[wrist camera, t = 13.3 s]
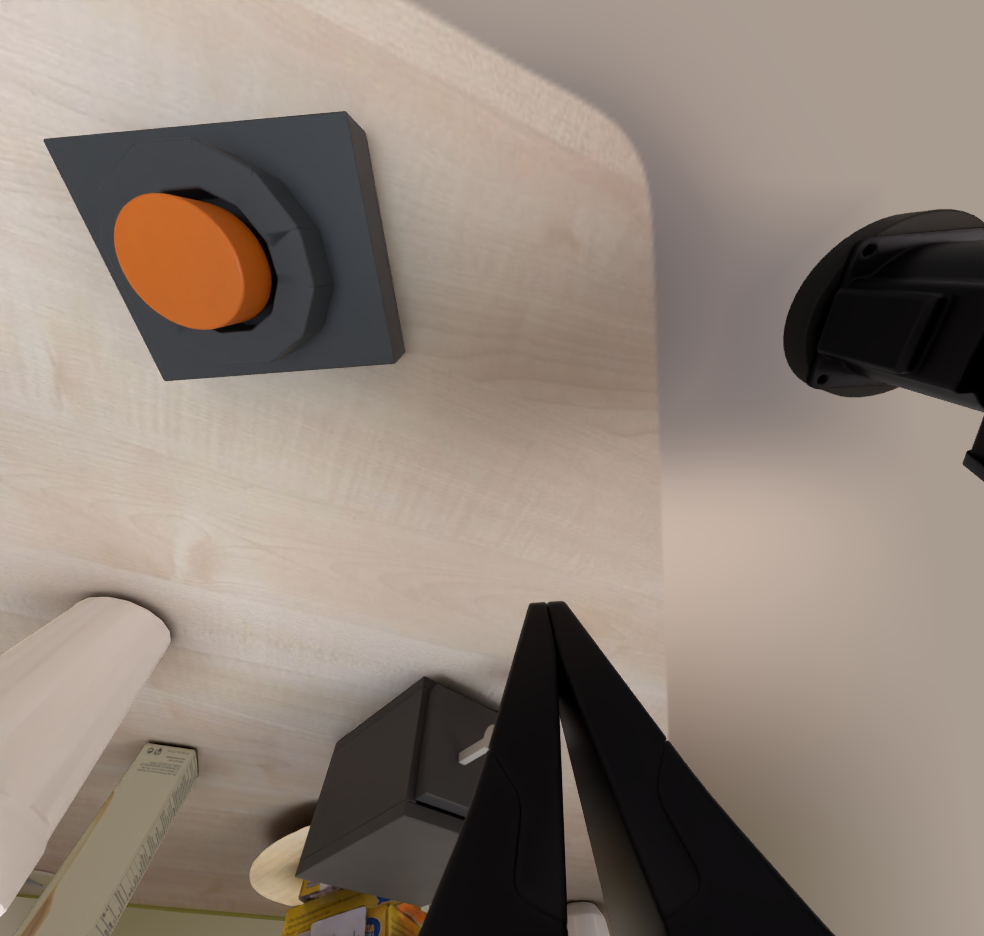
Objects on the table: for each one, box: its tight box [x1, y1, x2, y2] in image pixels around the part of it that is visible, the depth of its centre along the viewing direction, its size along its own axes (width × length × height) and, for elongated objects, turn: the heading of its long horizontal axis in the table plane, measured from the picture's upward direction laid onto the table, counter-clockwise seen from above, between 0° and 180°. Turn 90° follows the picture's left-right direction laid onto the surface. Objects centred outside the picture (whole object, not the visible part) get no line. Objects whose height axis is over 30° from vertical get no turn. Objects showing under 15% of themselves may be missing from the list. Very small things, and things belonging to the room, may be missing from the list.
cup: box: [0, 597, 171, 916], centre depth 21 cm, size 10×10×13 cm
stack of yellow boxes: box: [249, 826, 431, 936], centre depth 39 cm, size 25×25×17 cm
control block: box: [44, 111, 405, 381], centre depth 14 cm, size 10×8×4 cm
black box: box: [295, 677, 497, 907], centre depth 30 cm, size 14×12×9 cm
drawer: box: [415, 685, 498, 820], centre depth 29 cm, size 17×10×7 cm, turn 138°
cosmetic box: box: [13, 743, 198, 936], centre depth 30 cm, size 6×4×12 cm
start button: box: [114, 193, 272, 330], centre depth 12 cm, size 4×4×2 cm
